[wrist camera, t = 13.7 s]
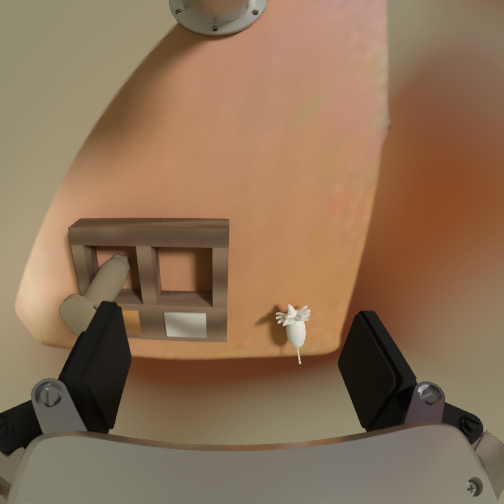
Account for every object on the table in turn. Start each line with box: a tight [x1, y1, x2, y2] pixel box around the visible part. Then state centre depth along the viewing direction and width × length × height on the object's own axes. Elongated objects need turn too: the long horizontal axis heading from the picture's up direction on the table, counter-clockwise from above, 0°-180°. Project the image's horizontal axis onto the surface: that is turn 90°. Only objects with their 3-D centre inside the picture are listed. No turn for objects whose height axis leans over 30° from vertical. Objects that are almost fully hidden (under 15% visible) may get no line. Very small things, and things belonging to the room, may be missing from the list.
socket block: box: [68, 218, 229, 342], centre depth 41 cm, size 18×22×4 cm
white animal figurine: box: [276, 304, 311, 364], centre depth 46 cm, size 12×5×5 cm, turn 10°
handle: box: [59, 253, 131, 337], centre depth 34 cm, size 5×6×15 cm
